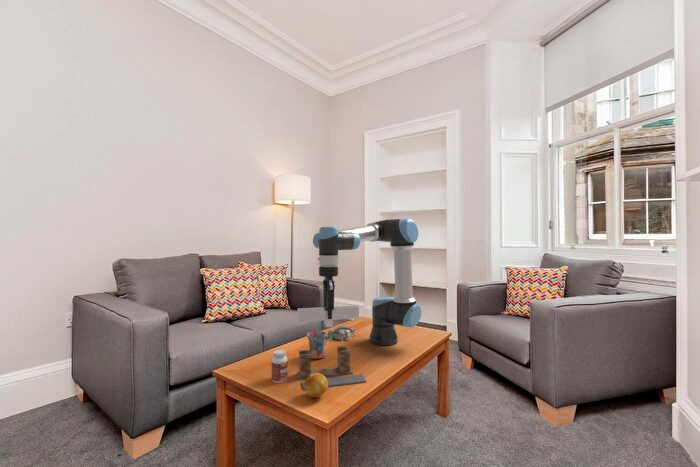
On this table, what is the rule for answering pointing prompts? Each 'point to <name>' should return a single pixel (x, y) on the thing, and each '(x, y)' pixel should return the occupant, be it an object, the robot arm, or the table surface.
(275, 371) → the pill bottle
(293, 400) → the table surface
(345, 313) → the rail
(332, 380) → the felt mat
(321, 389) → the fruit
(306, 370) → the stand
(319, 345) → the mug
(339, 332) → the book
